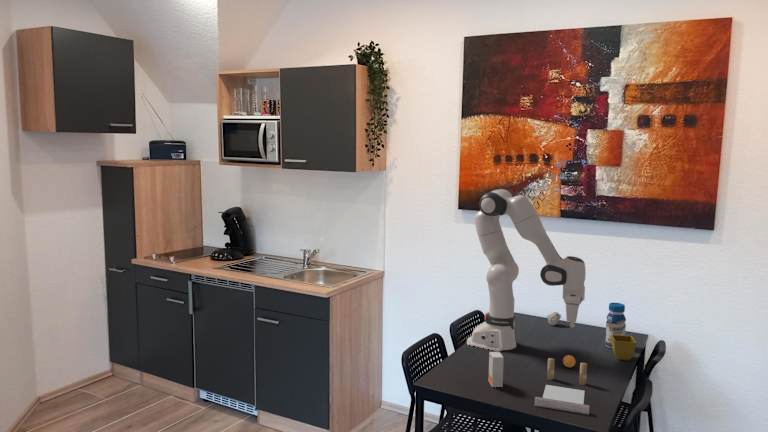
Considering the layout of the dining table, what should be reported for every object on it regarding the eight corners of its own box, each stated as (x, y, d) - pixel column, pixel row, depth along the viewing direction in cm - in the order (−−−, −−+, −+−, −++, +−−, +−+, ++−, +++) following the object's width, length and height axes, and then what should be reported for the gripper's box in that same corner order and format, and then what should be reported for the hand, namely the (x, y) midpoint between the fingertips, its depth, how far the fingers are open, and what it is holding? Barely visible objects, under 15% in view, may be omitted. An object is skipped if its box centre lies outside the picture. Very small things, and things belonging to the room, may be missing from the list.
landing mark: (542, 399, 205) (542, 399, 205) (545, 385, 218) (545, 384, 218) (583, 406, 200) (583, 406, 200) (584, 391, 213) (584, 390, 213)
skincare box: (488, 381, 220) (489, 351, 219) (498, 381, 221) (500, 351, 219) (491, 388, 214) (492, 357, 213) (503, 387, 215) (504, 357, 213)
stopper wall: (534, 405, 200) (534, 398, 199) (535, 403, 202) (535, 396, 201) (588, 414, 193) (589, 407, 193) (589, 412, 195) (589, 405, 195)
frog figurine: (560, 327, 290) (561, 314, 289) (546, 326, 292) (546, 313, 291) (560, 324, 296) (561, 311, 295) (546, 322, 298) (547, 309, 297)
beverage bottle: (621, 344, 266) (623, 302, 264) (626, 350, 258) (629, 307, 256) (602, 343, 267) (604, 301, 265) (607, 349, 259) (610, 306, 256)
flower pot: (635, 362, 242) (636, 342, 241) (613, 361, 244) (614, 340, 243) (630, 355, 251) (632, 335, 250) (609, 354, 253) (611, 334, 252)
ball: (562, 368, 235) (562, 356, 234) (563, 364, 240) (563, 352, 239) (574, 370, 233) (575, 358, 233) (575, 365, 238) (576, 354, 237)
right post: (579, 384, 219) (580, 364, 218) (579, 382, 221) (580, 362, 220) (585, 385, 218) (587, 365, 217) (586, 383, 220) (587, 363, 219)
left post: (546, 379, 223) (547, 359, 222) (547, 377, 225) (548, 357, 224) (553, 380, 222) (554, 360, 221) (553, 378, 224) (554, 358, 224)
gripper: (567, 288, 252) (566, 319, 254) (564, 299, 233) (562, 332, 235) (582, 290, 250) (581, 320, 251) (580, 301, 231) (578, 334, 233)
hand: (572, 326), depth 243 cm, fingers closed
